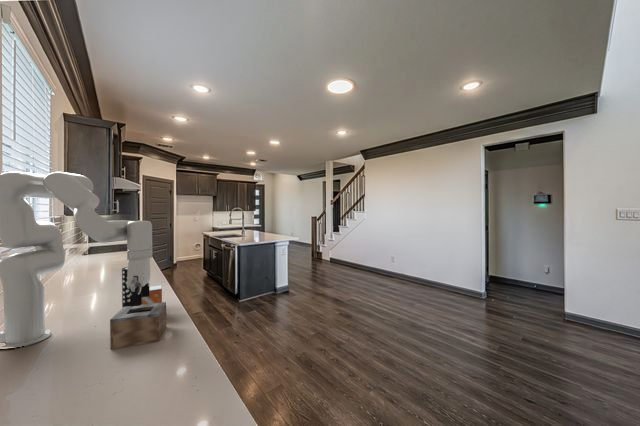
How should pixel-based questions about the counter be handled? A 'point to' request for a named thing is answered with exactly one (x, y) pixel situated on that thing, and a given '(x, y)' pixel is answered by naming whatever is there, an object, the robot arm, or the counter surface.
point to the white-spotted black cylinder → (125, 288)
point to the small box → (153, 295)
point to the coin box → (138, 325)
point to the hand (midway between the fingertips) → (140, 301)
